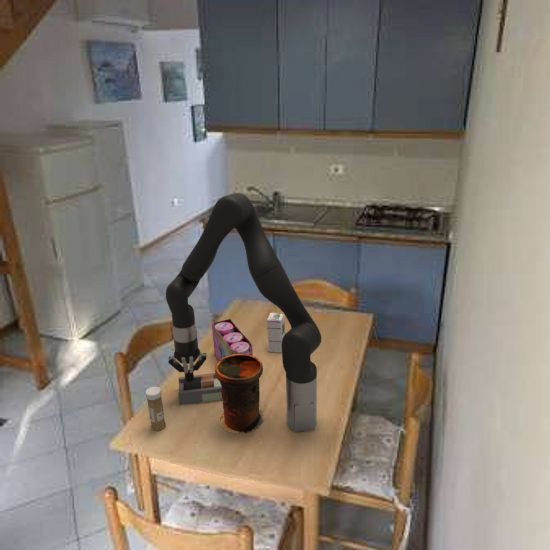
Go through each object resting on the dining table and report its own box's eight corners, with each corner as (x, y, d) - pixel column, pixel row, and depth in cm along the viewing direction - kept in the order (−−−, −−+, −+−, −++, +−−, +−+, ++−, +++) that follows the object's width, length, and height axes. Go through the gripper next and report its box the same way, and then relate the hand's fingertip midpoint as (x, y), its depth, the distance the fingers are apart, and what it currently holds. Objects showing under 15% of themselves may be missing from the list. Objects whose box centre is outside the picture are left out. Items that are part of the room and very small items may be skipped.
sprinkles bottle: (166, 429, 152) (161, 393, 146) (151, 432, 150) (145, 396, 145) (165, 420, 156) (160, 384, 150) (150, 423, 155) (145, 387, 149)
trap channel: (244, 396, 166) (243, 385, 164) (179, 404, 162) (178, 393, 161) (241, 380, 174) (240, 369, 172) (179, 388, 171) (178, 377, 169)
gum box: (256, 380, 174) (255, 347, 169) (235, 386, 171) (233, 352, 166) (232, 348, 194) (230, 318, 189) (213, 353, 191) (210, 322, 186)
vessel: (234, 399, 164) (231, 348, 156) (271, 412, 158) (271, 359, 150) (209, 425, 153) (205, 371, 145) (249, 440, 147) (247, 385, 138)
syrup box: (282, 353, 190) (282, 320, 184) (267, 352, 191) (266, 318, 186) (285, 345, 195) (284, 313, 190) (271, 344, 196) (269, 312, 191)
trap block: (214, 388, 166) (213, 380, 164) (202, 389, 165) (201, 382, 164) (213, 381, 169) (213, 373, 168) (202, 382, 169) (201, 375, 167)
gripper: (163, 343, 154) (169, 389, 161) (206, 339, 156) (210, 384, 163) (164, 332, 161) (170, 376, 168) (205, 328, 163) (209, 372, 170)
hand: (189, 380), depth 165 cm, fingers closed
